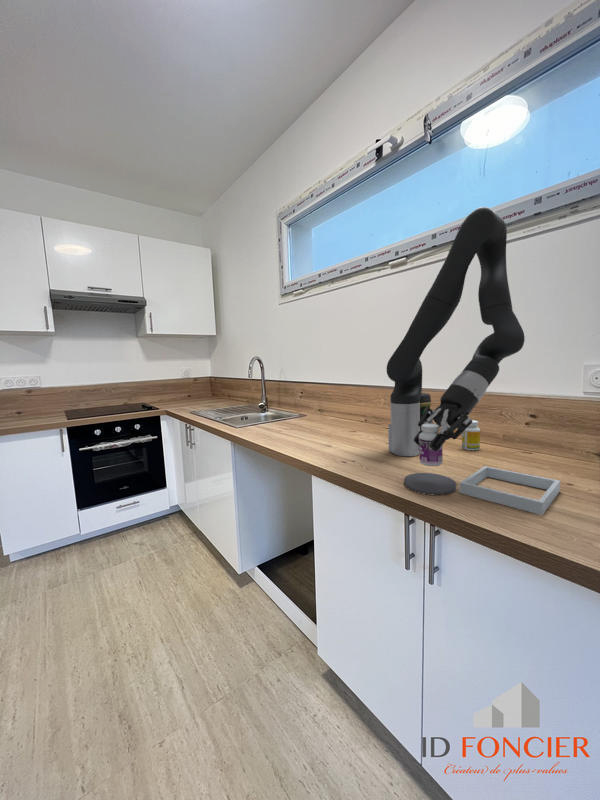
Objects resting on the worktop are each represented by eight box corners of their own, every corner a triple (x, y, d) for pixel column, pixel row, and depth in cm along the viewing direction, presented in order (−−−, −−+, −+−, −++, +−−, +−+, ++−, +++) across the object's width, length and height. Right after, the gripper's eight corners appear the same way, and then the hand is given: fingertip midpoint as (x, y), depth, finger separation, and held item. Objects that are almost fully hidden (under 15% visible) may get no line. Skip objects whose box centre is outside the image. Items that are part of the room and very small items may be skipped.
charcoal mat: (394, 485, 79) (394, 482, 79) (419, 473, 87) (419, 469, 87) (442, 499, 70) (442, 495, 70) (464, 484, 78) (464, 480, 78)
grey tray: (459, 492, 73) (459, 482, 73) (484, 475, 84) (484, 466, 83) (542, 515, 62) (542, 502, 61) (559, 491, 72) (560, 480, 72)
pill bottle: (415, 461, 80) (414, 423, 79) (435, 459, 81) (434, 422, 80) (425, 467, 75) (424, 427, 74) (447, 465, 76) (446, 426, 74)
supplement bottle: (458, 448, 109) (458, 420, 108) (468, 445, 111) (469, 419, 110) (472, 451, 104) (473, 423, 103) (483, 449, 107) (483, 421, 105)
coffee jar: (400, 438, 126) (400, 392, 124) (415, 435, 130) (415, 390, 127) (419, 443, 117) (419, 394, 115) (434, 440, 121) (434, 392, 119)
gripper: (435, 382, 85) (397, 431, 83) (479, 384, 71) (435, 443, 69) (451, 400, 87) (415, 448, 85) (497, 405, 73) (455, 463, 71)
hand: (424, 445), depth 77 cm, fingers closed on pill bottle, 5 cm apart
